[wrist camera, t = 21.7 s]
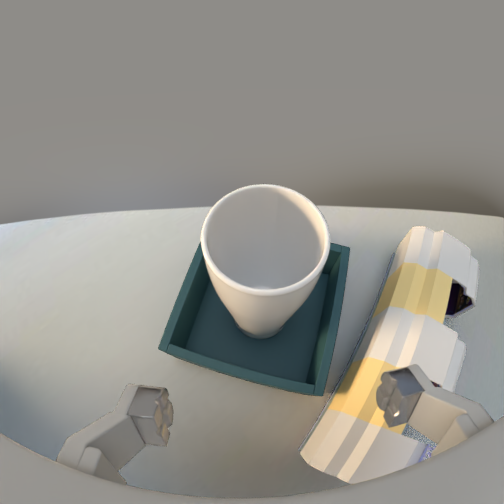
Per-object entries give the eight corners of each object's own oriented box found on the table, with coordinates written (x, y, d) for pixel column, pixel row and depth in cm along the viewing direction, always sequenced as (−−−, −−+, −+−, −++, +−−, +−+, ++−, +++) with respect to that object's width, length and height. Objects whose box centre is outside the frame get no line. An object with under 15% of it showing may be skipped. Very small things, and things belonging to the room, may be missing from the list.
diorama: (377, 480, 18) (448, 516, 7) (296, 449, 21) (331, 495, 9) (452, 289, 28) (517, 237, 17) (391, 252, 31) (444, 183, 19)
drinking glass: (272, 271, 29) (285, 167, 16) (307, 325, 26) (358, 254, 13) (214, 301, 28) (179, 212, 14) (247, 360, 25) (238, 323, 12)
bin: (176, 357, 26) (157, 348, 20) (218, 243, 32) (212, 214, 27) (308, 395, 24) (322, 396, 19) (334, 273, 30) (350, 247, 25)
